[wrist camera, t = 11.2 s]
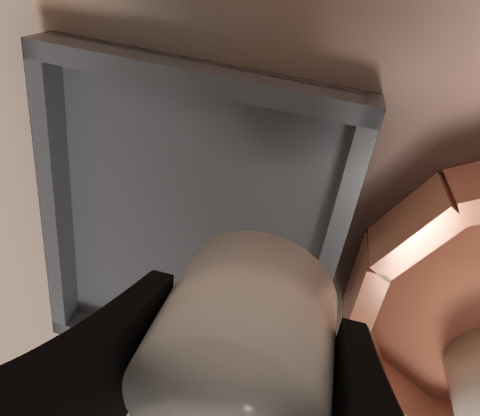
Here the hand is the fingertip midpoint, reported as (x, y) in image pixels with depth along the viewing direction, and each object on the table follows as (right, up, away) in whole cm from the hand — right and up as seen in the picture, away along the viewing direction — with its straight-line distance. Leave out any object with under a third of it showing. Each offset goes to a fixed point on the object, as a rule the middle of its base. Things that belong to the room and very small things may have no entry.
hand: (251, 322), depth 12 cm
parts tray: (-3, +2, +10) cm, 10 cm away
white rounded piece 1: (0, 0, +1) cm, 1 cm away
